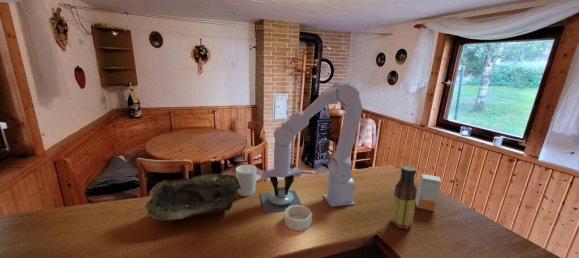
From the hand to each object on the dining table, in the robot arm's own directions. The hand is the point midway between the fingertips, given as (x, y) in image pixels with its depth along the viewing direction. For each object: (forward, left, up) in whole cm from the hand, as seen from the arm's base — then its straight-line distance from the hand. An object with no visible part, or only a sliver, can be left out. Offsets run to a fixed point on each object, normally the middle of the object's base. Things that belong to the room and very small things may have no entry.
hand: (280, 194), depth 87 cm
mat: (0, 0, -3) cm, 3 cm away
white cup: (+12, -9, -3) cm, 15 cm away
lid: (0, 0, -1) cm, 1 cm away
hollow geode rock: (+29, +3, -3) cm, 29 cm away
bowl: (-3, +13, -3) cm, 14 cm away
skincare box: (-52, +13, -3) cm, 54 cm away
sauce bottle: (-36, +20, -3) cm, 41 cm away
